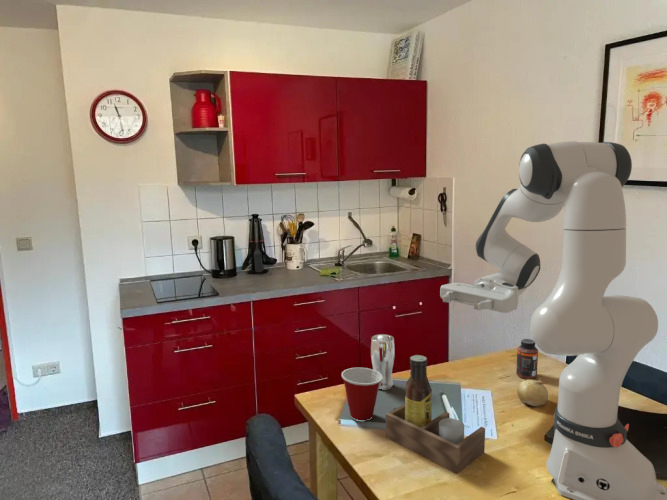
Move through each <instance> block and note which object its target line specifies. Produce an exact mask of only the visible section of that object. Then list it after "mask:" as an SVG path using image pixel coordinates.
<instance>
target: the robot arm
mask: <svg viewBox="0 0 667 500" xmlns="http://www.w3.org/2000/svg"><path fill="white" fill-rule="evenodd" d="M632 167H633V162H632V157H631V154H630V153H629V151H628V149H627V148H626V147H625V146H624V145H622V144H621V143H616V142H612V141H602V142H594V141H576V140H574V141H573V140H572V141H562V142H554V143H549V144H548V143H540V144H535V145H532V146H530V147H527V148H526V149H525V150H524V152H523V153H522V155H521V157H520V160H519V163H518V177H519V178H518V179H519V181H520V185H519V187H518V188H512V189H511V190H508V192H506V194H504V196H503V197H502V198H501V199H500V201H499V202H498V204H497V206H496V208H495V210H494V212H493V213H492V215H491V217H490V219H489V221H488V223H487V224H486V227H485V228H484V229H483V231H482V233H481V234H480V235H479V237H478V238H477V240H476V242H475V251H476V254H477V256H478V257H479V258H480V259H481V260H484V261H485V262H486V263H489V264H490V265H492V266H493V268H496V269H497V270H498V272H495V273H493V274H488V275H485V276H481V277H479V278H477V279H476V280H475V281H473V284H467V283H463V282H451V283H447V284H446V283H445V284H442V285H441V286H440V289H439V290H440V291H439V293H440V294H439V296H440V299H442V302H443V303H448V304H449V303H452V302H455V303H460V304H464V305H468V306H472V307H473V309H474V310H476V311H477V310H478V311H482V310H490V311H495V312H498V313H504V314H505V313H510V312H513V311H516V310H517V309H518V306H519V305H518V304H519V296H521V295H522V294H524V292H526V290H527V288H528V287H530V286H531V284H532V283H534V282H535V280H536V278H537V277H538V276H539V273H540V271H541V259H540V256H539V254H538V253H537V252H535V251H534V250H533V249H531V248H530V247H528V246H527V245H525V244H523V243H522V242H520V241H519V240H517V238H514V237H513V236H511V234H509V233H508V231H507V230H506V228H507V226H508V225H509V223H510V221H511V219H512V218H516V219H521V220H523V221H526V222H530V223H541V222H546V221H549V220H552V219H554V218H555V217H556V216H557V215H559V214H560V212H561V211H562V210H563V219H562V220H563V221H562V256H561V265H560V272H559V275H558V277H557V280H556V283H555V285H554V287H553V289H552V291H551V292H550V294H549V295H548V296H547V298H546V299H545V300H544V302H542V303H541V305H539V306H538V307H537V308H536V309H534V311H533V313H532V315H531V317H530V322H529V323H530V324H529V330H530V335H531V339H532V340H534V342H535V346H537V347H538V348H539V349H540V350H541V351H542V352H544V353H545V354H548V355H556V356H565V357H573V356H576V358H575V359H573V361H572V362H570V363H569V364H568V365H566V367H565V368H563V370H562V371H561V373H560V376H559V378H558V379H559V381H558V396H557V405H556V406H555V408H554V415H553V432H554V436H553V441H552V444H551V449H550V452H549V455H548V458H547V460H546V463H545V464H546V465H545V466H546V469H547V471H548V474H550V476H551V477H552V479H551V481H552V482H553V483H554V484H555V487H556V489H557V492H558V494H560V495H561V496H563V497H566V498H568V499H572V500H667V488H666V486H664V485H663V484H661V483H660V482H658V481H657V474H656V470H655V468H654V465H653V463H652V462H651V461H650V460H649V459H648V458H647V457H646V456H644V454H642V452H640V450H639V449H637V448H636V447H635V446H634V445H633V444H632V443H631V442H630V441H629V439H627V436H628V434H627V433H628V431H629V428H630V424H629V423H627V424H625V426H624V425H623V424H622V422H621V421H620V420H619V418H618V412H619V411H618V409H619V401H620V394H621V389H622V385H623V382H624V379H625V377H626V375H627V373H628V370H629V369H630V366H631V364H632V363H633V362H634V360H635V358H636V356H637V355H638V354H639V353H640V351H641V350H642V349H644V347H645V346H647V345H648V344H649V343H651V342H652V341H653V339H655V337H656V336H657V334H658V329H659V320H658V316H657V313H656V311H655V309H654V308H653V305H651V304H650V303H649V302H648V301H646V300H645V299H643V298H640V297H637V296H636V297H635V296H630V295H629V296H628V295H620V294H615V295H605V292H606V290H607V289H608V287H609V285H610V284H611V283H612V282H613V281H614V280H615V279H616V278H617V277H619V276H620V275H621V274H622V273H623V272H624V270H625V268H626V263H627V214H626V212H627V211H626V203H625V197H624V192H623V187H624V186H625V185H626V183H627V182H628V180H629V178H630V176H631V174H632ZM604 295H605V296H604Z"/></svg>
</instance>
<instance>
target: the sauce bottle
mask: <svg viewBox="0 0 667 500" xmlns="http://www.w3.org/2000/svg"><path fill="white" fill-rule="evenodd" d="M409 364H410V372H409V374H410V376H409V378H408V379H407V382H406V383H405V397H404V402H405V403H404V404H405V421H407V422H410V423H412V424H414V425H416V426H418V427H422V426H424V425H425V424H427V423H428V422H430V421H432V407H433V403H432V401H433V398H432V395H433V389H432V387H431V385H430V381H429V379H428V376H427V375H428V374H427V365H428V358H427V356H424V355H421V354H420V355H419V354H415V355H412V356H410V357H409Z"/></svg>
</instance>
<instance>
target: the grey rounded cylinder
mask: <svg viewBox="0 0 667 500" xmlns="http://www.w3.org/2000/svg"><path fill="white" fill-rule="evenodd" d="M439 437H442V438H444V439H446V440H448V441H450V442H452V443H454V444H458V443H459V442H460V441H462V440H463V439H465V424H464V422H463V421H461V420H460V419H456V418H450V417H449V418H446V419H442V420H441V421H440V422H439Z"/></svg>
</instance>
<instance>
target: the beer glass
mask: <svg viewBox="0 0 667 500" xmlns="http://www.w3.org/2000/svg"><path fill="white" fill-rule="evenodd" d="M370 340H371V342H370V343H371V344H370V358H371V364H372V369H373V370H375V371H378V372H379V373H380V374H382V377H383V379H382V380H381V382H380V385H379V388H378V389H382V390H381V391H387V390H386V389H388V390H390V389H389V388H391V387H392V386H393V387H394V382H393V375H392V374H393V367H394V361H395V338H394V336H392V335H389V334H384V333H382V334H381V333H380V334H375V335H373V336H371V339H370ZM393 387H392V388H393ZM392 388H391V389H392ZM384 389H385V390H384Z"/></svg>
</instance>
